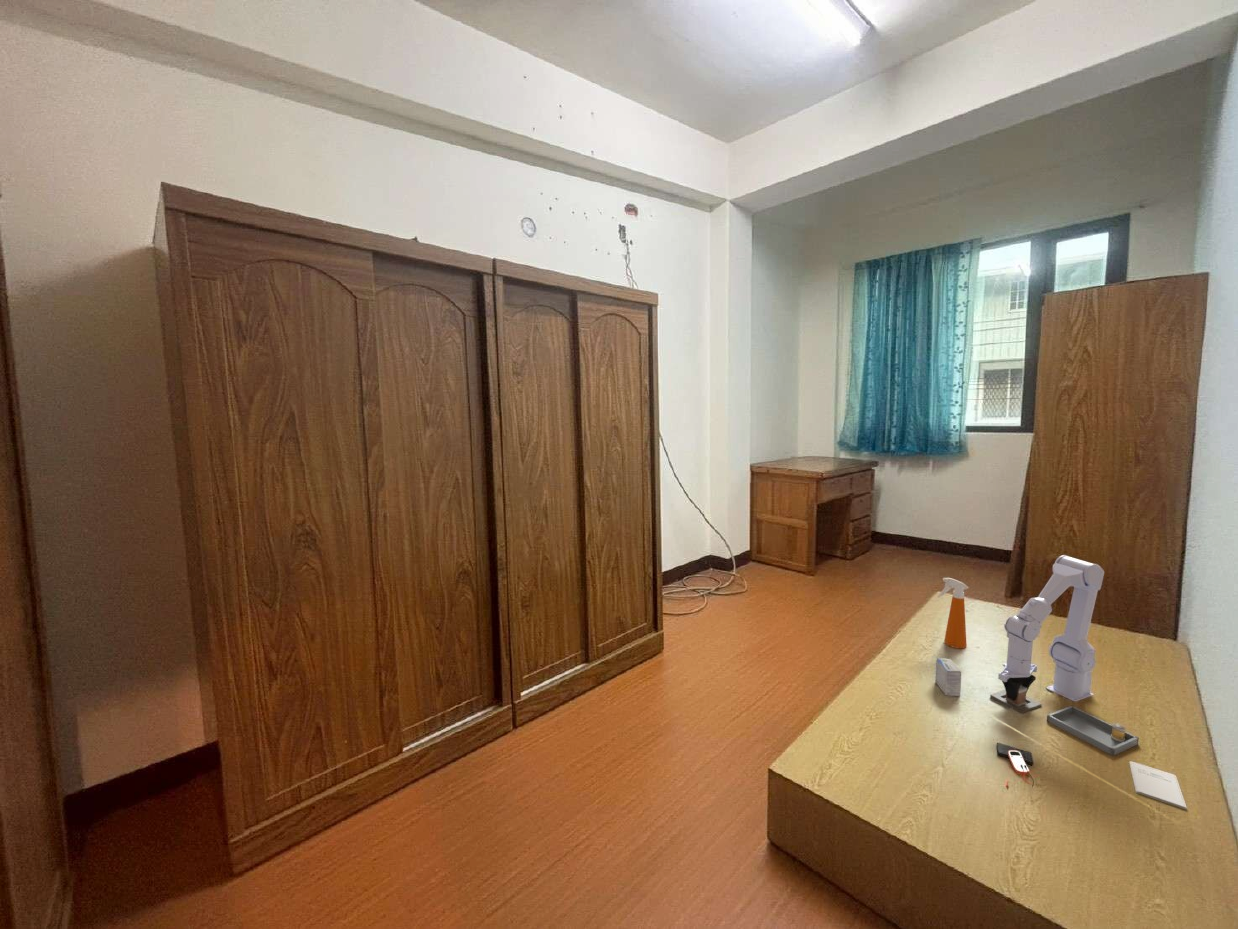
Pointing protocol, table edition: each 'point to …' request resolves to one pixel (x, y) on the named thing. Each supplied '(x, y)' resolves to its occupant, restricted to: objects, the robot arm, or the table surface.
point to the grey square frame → (1021, 709)
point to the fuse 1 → (1019, 696)
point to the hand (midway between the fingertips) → (1015, 697)
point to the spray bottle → (955, 614)
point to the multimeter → (1016, 759)
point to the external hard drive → (1157, 784)
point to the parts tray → (1090, 730)
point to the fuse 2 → (1118, 732)
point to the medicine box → (948, 677)
